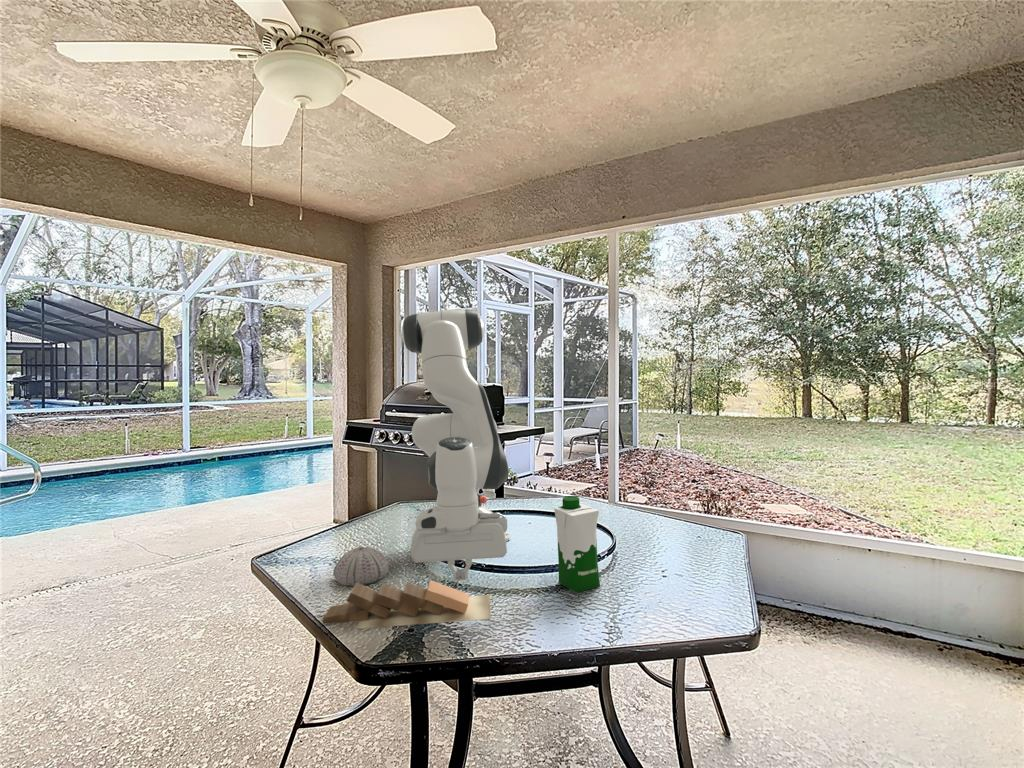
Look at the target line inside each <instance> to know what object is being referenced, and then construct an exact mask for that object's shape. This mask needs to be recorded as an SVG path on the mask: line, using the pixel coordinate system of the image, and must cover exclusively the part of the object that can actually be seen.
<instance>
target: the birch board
mask: <svg viewBox="0 0 1024 768" xmlns="http://www.w3.org/2000/svg"><path fill="white" fill-rule="evenodd" d="M491 613H492V612H491V595H490V594H484V595H483V594H482V595H469V602H468V607H467V609H466V612H465V613H462V612H459V611H456V610H453V609H451V608H448V607H445V606H444V609H443V611H442V614H441V615H438V614H435V613H432V612H429V611H426V610H424V609H421V608H419V610H418V612H417V615H416V617H414V616H411V615H408V614H405V613H402V612H399V611H396V610H393V609H391V611H390V613H389V615H388V617H387V619H385V618H383V617H381V616H378V615H376V614H374V613H371V615H370V617H369V619H368V620H363V621H358V624H357V626H356V628H355V629H357V630H358V629H370V628H382V627H383V628H385V627H398V626H411V625H426V624H438V623H439V624H441V623H453V622H469V621H482V620H491V618H492V617H491Z"/></svg>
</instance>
